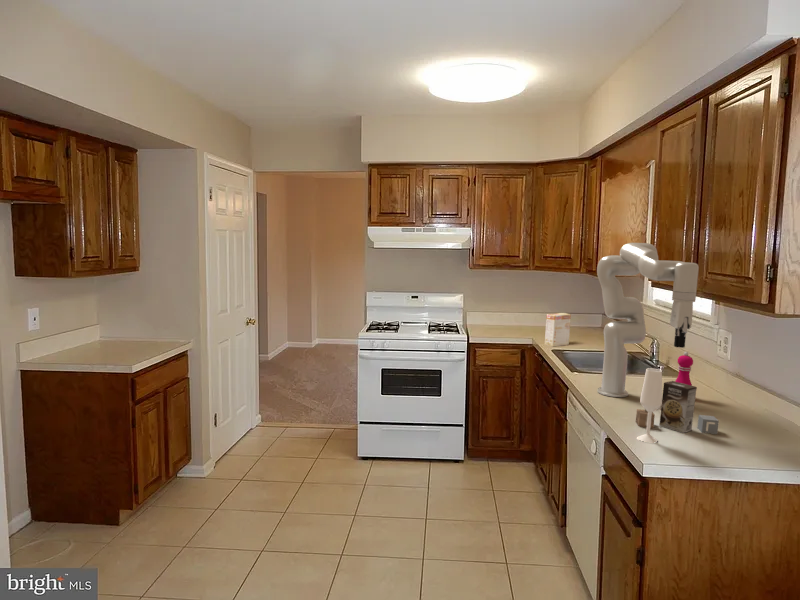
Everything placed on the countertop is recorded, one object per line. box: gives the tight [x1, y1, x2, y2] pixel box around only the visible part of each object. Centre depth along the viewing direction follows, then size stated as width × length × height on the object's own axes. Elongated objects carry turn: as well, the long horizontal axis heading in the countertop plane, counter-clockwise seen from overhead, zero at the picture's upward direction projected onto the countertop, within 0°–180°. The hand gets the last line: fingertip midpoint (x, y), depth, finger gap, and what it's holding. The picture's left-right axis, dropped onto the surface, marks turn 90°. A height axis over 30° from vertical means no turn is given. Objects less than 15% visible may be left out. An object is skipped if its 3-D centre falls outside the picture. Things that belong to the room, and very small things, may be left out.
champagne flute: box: [636, 367, 663, 444], centre depth 186 cm, size 7×7×24 cm
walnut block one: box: [635, 408, 655, 429], centre depth 202 cm, size 5×5×6 cm
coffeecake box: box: [544, 312, 572, 347], centre depth 347 cm, size 15×7×20 cm, turn 123°
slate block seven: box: [696, 414, 720, 435], centre depth 198 cm, size 5×5×5 cm
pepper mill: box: [675, 351, 694, 386], centre depth 240 cm, size 7×7×20 cm
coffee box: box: [659, 380, 698, 434], centre depth 200 cm, size 9×6×16 cm
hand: (679, 346), depth 203 cm, fingers closed
